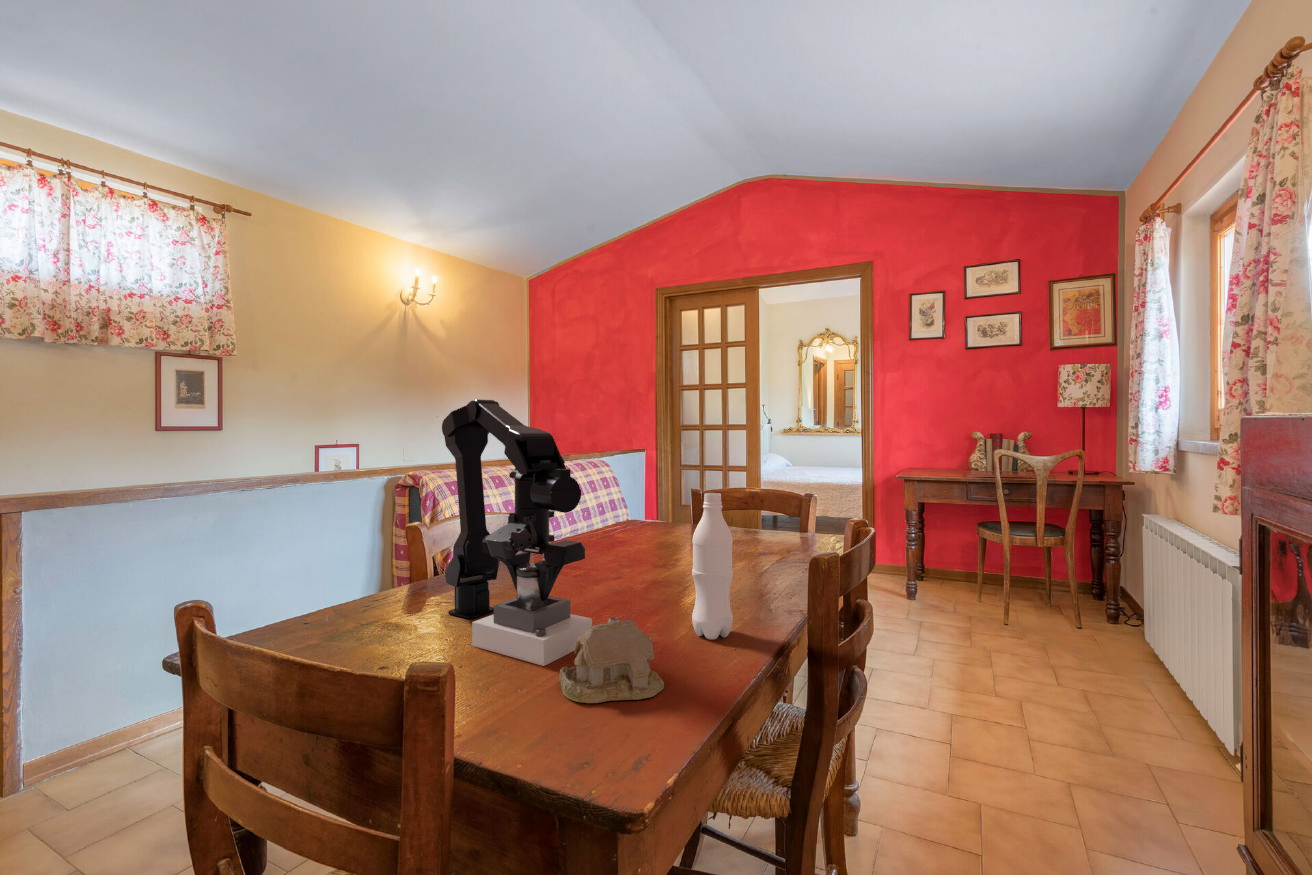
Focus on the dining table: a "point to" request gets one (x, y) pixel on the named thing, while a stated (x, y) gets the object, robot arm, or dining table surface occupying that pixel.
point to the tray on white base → (531, 631)
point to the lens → (529, 587)
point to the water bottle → (712, 571)
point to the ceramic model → (611, 665)
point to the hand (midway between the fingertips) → (532, 598)
